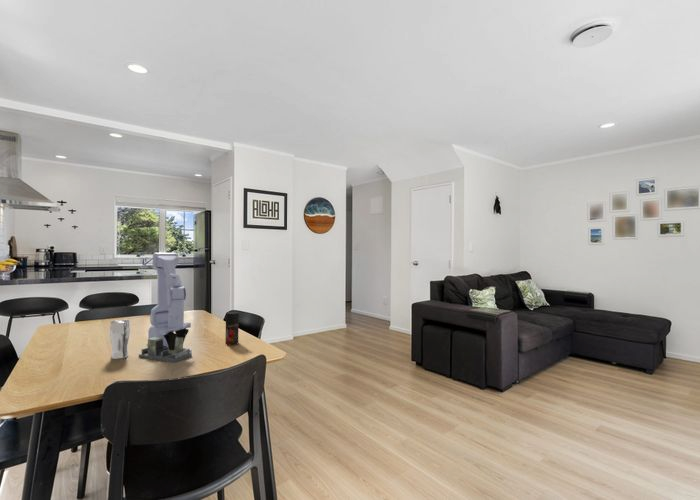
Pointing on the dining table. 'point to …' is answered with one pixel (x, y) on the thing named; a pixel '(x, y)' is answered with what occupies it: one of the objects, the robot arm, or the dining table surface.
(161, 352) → the grey slotted rack
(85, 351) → the dining table surface
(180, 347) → the sage green rectangular prism
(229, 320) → the deodorant
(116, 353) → the beer glass
